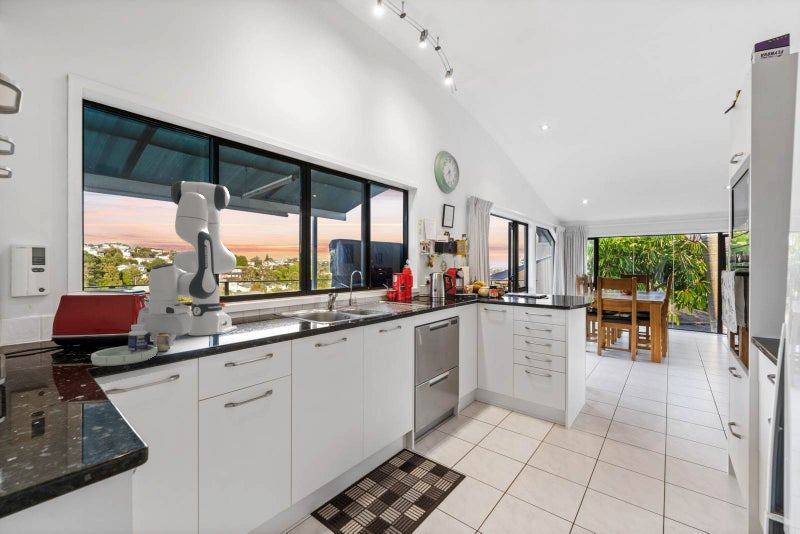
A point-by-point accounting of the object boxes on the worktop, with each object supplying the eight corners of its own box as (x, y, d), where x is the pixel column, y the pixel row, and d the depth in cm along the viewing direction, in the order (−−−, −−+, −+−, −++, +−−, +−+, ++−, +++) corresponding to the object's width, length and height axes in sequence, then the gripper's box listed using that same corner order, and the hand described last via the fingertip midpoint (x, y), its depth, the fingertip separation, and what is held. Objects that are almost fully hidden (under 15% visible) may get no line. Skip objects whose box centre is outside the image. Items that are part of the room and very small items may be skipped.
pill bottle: (137, 354, 118) (137, 326, 118) (124, 354, 119) (124, 325, 119) (151, 351, 123) (151, 323, 123) (138, 350, 124) (138, 323, 124)
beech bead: (163, 348, 130) (163, 334, 130) (172, 348, 129) (172, 335, 129) (154, 350, 126) (154, 336, 126) (163, 351, 125) (163, 337, 125)
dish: (127, 351, 126) (127, 344, 126) (168, 353, 124) (168, 345, 124) (77, 364, 110) (77, 355, 110) (123, 367, 107) (123, 358, 107)
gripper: (131, 308, 126) (131, 345, 126) (180, 309, 123) (180, 348, 123) (147, 306, 132) (147, 341, 133) (194, 307, 129) (193, 344, 129)
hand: (163, 345), depth 128 cm, fingers closed on beech bead, 4 cm apart
